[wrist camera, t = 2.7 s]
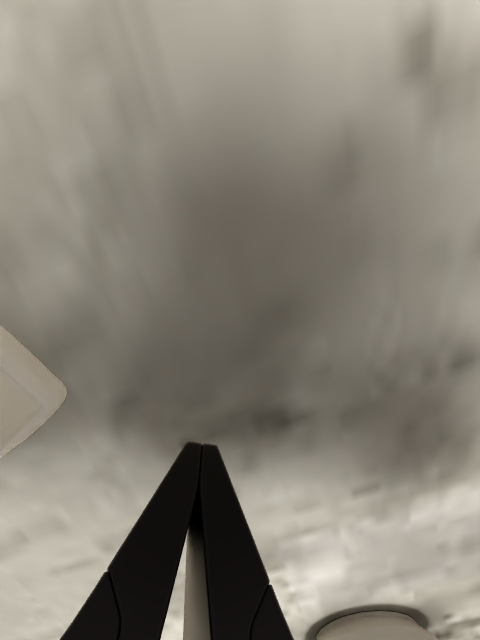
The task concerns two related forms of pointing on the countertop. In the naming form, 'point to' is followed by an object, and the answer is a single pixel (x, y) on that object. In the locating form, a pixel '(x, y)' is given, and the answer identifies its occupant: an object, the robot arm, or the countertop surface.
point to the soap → (24, 393)
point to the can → (375, 627)
